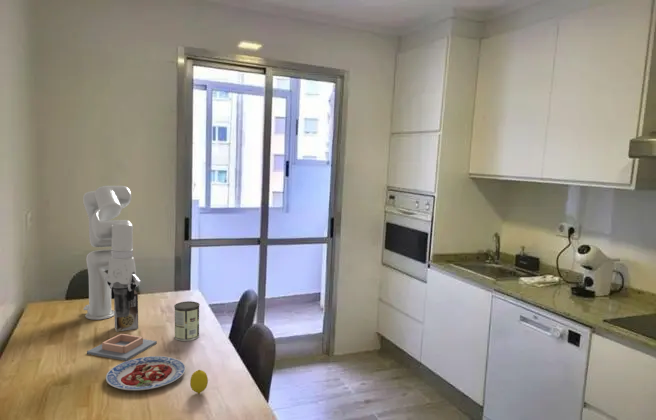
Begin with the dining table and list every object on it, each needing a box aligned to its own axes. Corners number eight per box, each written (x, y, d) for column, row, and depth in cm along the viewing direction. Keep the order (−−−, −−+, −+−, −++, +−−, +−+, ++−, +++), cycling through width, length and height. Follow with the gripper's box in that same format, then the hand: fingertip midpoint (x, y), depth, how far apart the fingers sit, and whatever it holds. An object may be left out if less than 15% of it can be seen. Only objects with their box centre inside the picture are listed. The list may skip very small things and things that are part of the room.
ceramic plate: (127, 360, 175) (127, 352, 175) (195, 363, 174) (195, 355, 174) (90, 393, 149) (90, 384, 149) (169, 397, 148) (169, 389, 148)
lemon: (192, 389, 154) (192, 366, 153) (209, 389, 155) (209, 366, 154) (188, 397, 149) (188, 373, 148) (206, 397, 149) (206, 373, 148)
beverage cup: (136, 313, 186) (136, 264, 184) (126, 319, 179) (126, 268, 177) (119, 312, 187) (118, 263, 185) (108, 317, 179) (108, 267, 178)
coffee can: (184, 330, 206) (184, 300, 204) (203, 334, 202) (204, 303, 201) (168, 338, 196) (169, 306, 195) (189, 342, 193) (189, 309, 191)
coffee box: (135, 324, 212) (135, 289, 210) (138, 328, 206) (138, 293, 204) (114, 327, 207) (113, 292, 205) (116, 332, 201) (115, 295, 200)
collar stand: (86, 353, 178) (86, 345, 178) (119, 337, 195) (119, 329, 195) (126, 360, 173) (126, 351, 173) (156, 343, 191) (156, 335, 190)
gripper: (96, 254, 179) (97, 299, 181) (134, 257, 175) (135, 304, 176) (110, 250, 186) (111, 294, 188) (147, 254, 182) (147, 299, 183)
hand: (122, 298), depth 182 cm, fingers closed on beverage cup, 6 cm apart
